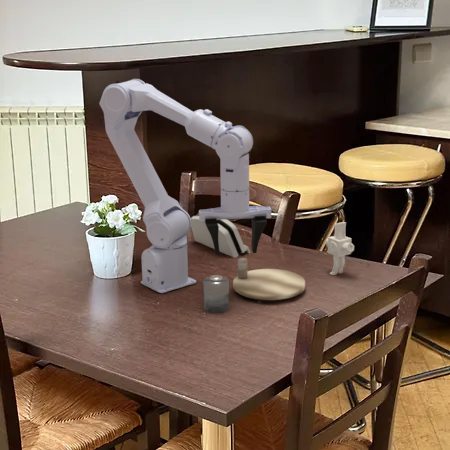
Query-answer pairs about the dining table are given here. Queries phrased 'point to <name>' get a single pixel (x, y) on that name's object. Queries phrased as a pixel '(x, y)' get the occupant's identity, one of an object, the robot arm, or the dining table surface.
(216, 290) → the grey short cylinder
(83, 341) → the dining table surface
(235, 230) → the grey piece
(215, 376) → the dining table surface
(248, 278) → the turntable
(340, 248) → the toy robot
